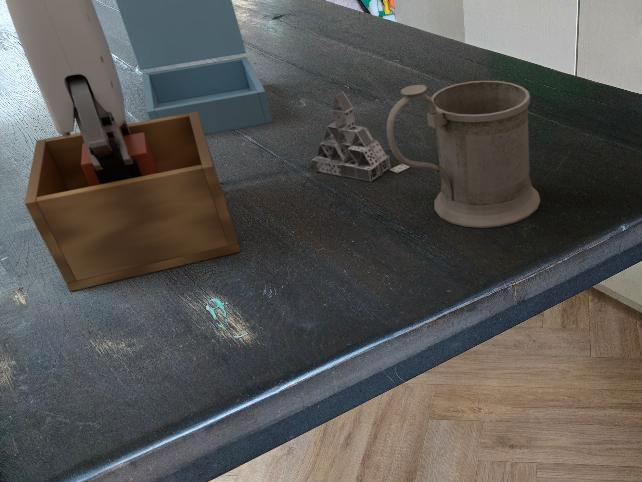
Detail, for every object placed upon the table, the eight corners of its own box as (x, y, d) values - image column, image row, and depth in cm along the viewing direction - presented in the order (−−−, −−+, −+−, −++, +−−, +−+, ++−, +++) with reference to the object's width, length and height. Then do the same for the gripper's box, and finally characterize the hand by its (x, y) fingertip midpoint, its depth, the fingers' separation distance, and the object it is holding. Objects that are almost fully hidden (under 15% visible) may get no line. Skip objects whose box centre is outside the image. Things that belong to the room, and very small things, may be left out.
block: (106, 220, 62) (80, 164, 58) (105, 197, 65) (82, 143, 62) (167, 207, 63) (146, 152, 60) (164, 185, 67) (144, 132, 63)
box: (274, 128, 84) (265, 91, 81) (160, 150, 81) (146, 111, 78) (256, 91, 94) (246, 56, 92) (154, 109, 91) (141, 73, 88)
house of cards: (430, 152, 77) (421, 77, 72) (384, 185, 71) (371, 107, 66) (361, 140, 80) (348, 68, 75) (312, 171, 75) (294, 96, 70)
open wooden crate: (70, 292, 59) (24, 203, 54) (74, 220, 68) (35, 140, 63) (240, 252, 63) (212, 165, 58) (222, 190, 72) (197, 111, 67)
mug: (493, 170, 73) (485, 43, 65) (561, 201, 67) (561, 66, 59) (372, 219, 66) (347, 84, 58) (437, 259, 60) (419, 115, 52)
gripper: (-10, -53, 57) (88, 168, 69) (-41, -9, 45) (84, 249, 57) (93, -64, 59) (171, 152, 71) (90, -25, 47) (184, 227, 59)
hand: (131, 193), depth 64 cm, fingers closed on block, 5 cm apart
